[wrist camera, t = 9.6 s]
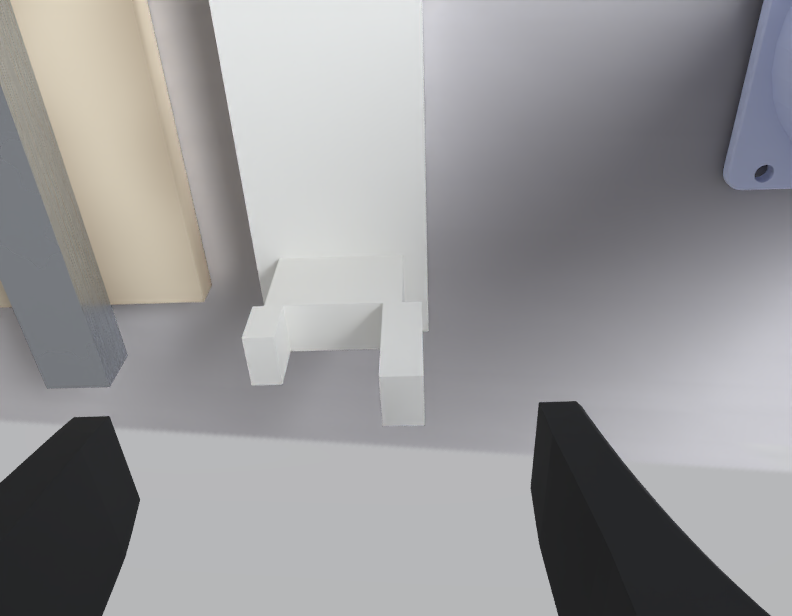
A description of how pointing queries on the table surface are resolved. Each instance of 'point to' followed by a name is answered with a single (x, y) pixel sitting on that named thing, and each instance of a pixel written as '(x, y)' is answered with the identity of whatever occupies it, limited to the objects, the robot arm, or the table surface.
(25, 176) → the steel rail
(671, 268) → the table surface
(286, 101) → the bracket stand
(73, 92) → the beech board
